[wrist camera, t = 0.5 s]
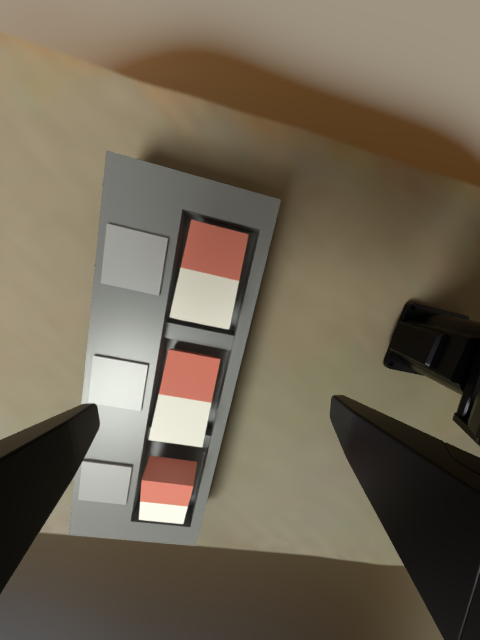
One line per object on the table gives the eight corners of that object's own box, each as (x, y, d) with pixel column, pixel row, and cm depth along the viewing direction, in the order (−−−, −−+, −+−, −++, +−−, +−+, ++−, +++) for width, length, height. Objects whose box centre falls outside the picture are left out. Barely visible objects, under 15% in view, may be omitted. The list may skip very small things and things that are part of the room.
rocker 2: (219, 356, 19) (220, 359, 17) (203, 436, 18) (202, 447, 16) (172, 347, 18) (168, 349, 16) (154, 429, 18) (148, 440, 16)
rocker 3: (197, 461, 19) (193, 486, 17) (187, 500, 22) (183, 523, 20) (150, 455, 18) (141, 480, 17) (146, 495, 21) (138, 519, 20)
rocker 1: (244, 244, 17) (248, 234, 15) (227, 329, 16) (229, 329, 15) (193, 231, 16) (191, 219, 15) (174, 318, 16) (169, 316, 14)
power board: (269, 213, 19) (281, 198, 15) (200, 504, 25) (195, 548, 21) (131, 175, 17) (104, 148, 13) (93, 492, 23) (67, 537, 19)
